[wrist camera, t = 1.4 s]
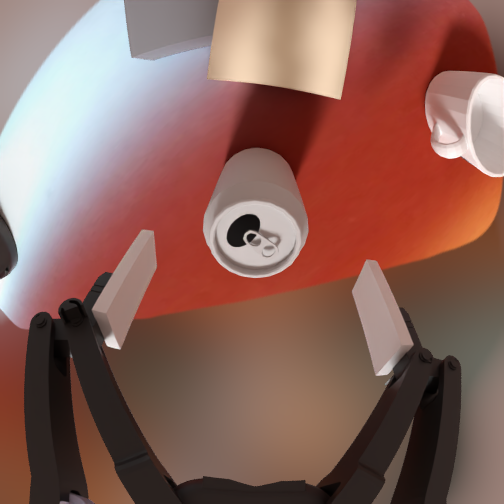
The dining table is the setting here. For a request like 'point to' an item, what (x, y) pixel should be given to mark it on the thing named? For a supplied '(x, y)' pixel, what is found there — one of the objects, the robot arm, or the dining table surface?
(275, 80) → the birch block
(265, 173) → the can
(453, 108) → the mug
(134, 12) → the slate block
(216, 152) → the dining table surface
